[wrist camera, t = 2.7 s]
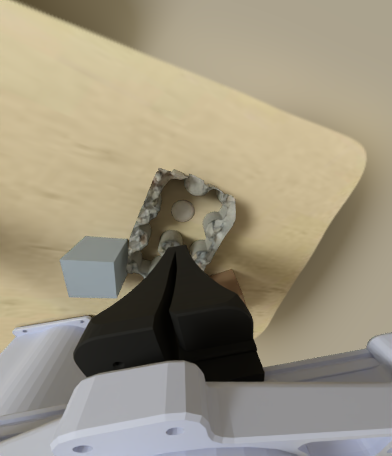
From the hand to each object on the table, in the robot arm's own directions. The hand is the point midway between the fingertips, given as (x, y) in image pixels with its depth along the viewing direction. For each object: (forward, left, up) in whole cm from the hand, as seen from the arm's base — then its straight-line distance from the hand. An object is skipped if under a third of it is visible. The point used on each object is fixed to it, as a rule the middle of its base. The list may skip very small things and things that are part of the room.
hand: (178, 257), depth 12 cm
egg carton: (0, 0, -6) cm, 6 cm away
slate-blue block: (-8, -2, -6) cm, 10 cm away
